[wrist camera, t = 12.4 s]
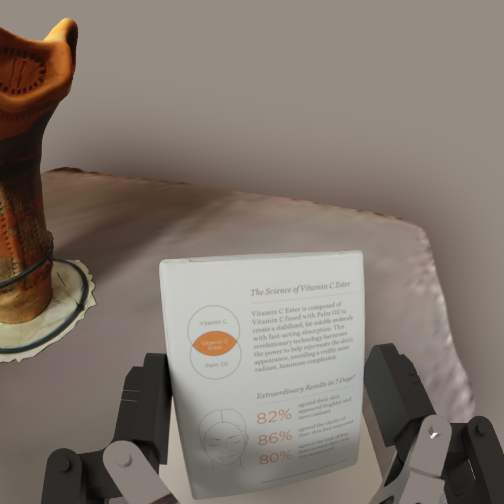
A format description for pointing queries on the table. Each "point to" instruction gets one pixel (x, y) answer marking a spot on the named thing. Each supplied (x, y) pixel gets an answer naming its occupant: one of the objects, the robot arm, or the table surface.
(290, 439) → the small box
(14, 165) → the decorative vase
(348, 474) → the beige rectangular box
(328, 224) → the table surface
